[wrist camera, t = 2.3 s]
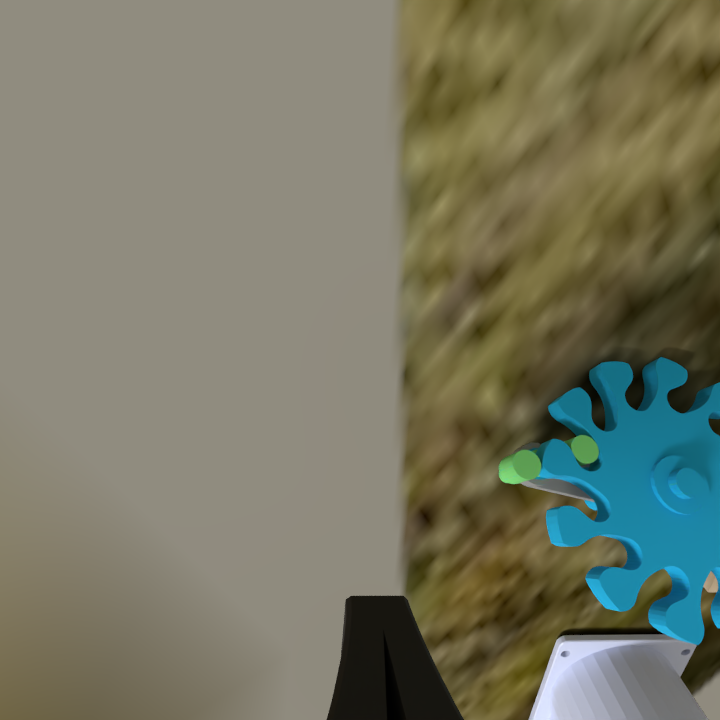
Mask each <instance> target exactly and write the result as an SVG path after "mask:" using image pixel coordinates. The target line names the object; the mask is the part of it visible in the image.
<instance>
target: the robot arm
mask: <svg viewBox="0 0 720 720" xmlns="http://www.w3.org/2000/svg"><path fill="white" fill-rule="evenodd" d="M696 646H697V645H695V644H691V643H687V642H684V641H680V640H677V639H674V638H672V637H669V636H667V635H665V634H634V635H564V636H561V637H559V638H558V639H557V641H556V643H555V646H554V649H553V652H552V655H551V657H550V660H549V663H548V666H547V669H546V672H545V675H544V677H543V680H542V683H541V686H540V689H539V692H538V695H537V697H536V700H535V703H534V706H533V709H532V712H531V715H530V717H529V720H708V718H707V717H706V715H705V714H704V712H703V711H702V709H701V708H700V706H699V705H698V703H697V702H696V700H695V699H694V697H693V696H692V694H691V693H690V691H689V690H688V688H687V687H686V685H685V684H684V682H683V681H682V679H681V678H680V676H681V675H682V673H683V671H684V669H685V667H686V665H687V663H688V661H689V659H690V657H691V656H692V654H693V652H694V650H695V648H696ZM327 720H464V719H463V717H462V716H461V714H460V712H459V710H458V708H457V706H456V705H455V703H454V701H453V699H452V697H451V695H450V693H449V691H448V689H447V687H446V685H445V683H444V682H443V680H442V678H441V676H440V674H439V672H438V670H437V668H436V666H435V664H434V662H433V659H432V657H431V655H430V653H429V651H428V649H427V647H426V644H425V642H424V640H423V638H422V635H421V633H420V631H419V628H418V626H417V624H416V621H415V619H414V616H413V614H412V611H411V608H410V606H409V603H408V600H407V599H406V598H405V597H404V596H350V597H349V598H347V599H346V604H345V615H344V627H343V639H342V650H341V661H340V666H339V670H338V676H337V680H336V684H335V689H334V694H333V698H332V702H331V706H330V710H329V713H328V717H327Z"/></svg>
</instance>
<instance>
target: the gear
mask: <svg viewBox="0 0 720 720" xmlns="http://www.w3.org/2000/svg"><path fill="white" fill-rule="evenodd" d="M642 376H643V380H644V387H645V390H644V397H643V401H642V403H641V405H640V407H639V408H638V410H635V409H633V408H632V407H630V406H629V404H628V403H627V401H626V399H625V392H626V389H627V388H628V386H629V385H630V384H631V382H632V380H633V372H632V369H631V367H630V366H629V364H628V363H624V362H618V361H612V362H603V363H601V364H599V365H597V366H596V367H594V368H593V369H591V370H590V373H589V378H590V382H591V384H592V385H593V387H594V388H595V389H596V390H597V392H598V394H599V395H600V397H601V400H602V402H603V405H604V409H605V430H604V431H602V430H600V429H599V428H597V427H596V425H595V424H594V423H593V420H592V416H591V411H592V405H591V400H590V397H589V395H588V394H587V393H586V392H585V391H584V390H583V389H582V388H580V387H578V388H574V389H572V390H570V391H568V392H567V393H565V394H563V395H562V396H560V397H558V398H557V399H556V400H554V401H553V402H552V403H551V404H550V405H549V406H548V410H549V412H550V414H551V416H552V417H553V418H554V419H555V420H556V421H558V422H560V423H562V424H564V425H565V426H566V427H568V428H569V429H570V430H571V431H572V432H573V433H574V434H575V435H576V436H577V437H574V438H572V439H569V440H567V441H565V442H563V441H561V440H558V439H551V440H549V441H546V442H544V443H542V444H540V443H528V444H526V445H524V446H522V447H520V448H518V449H516V450H515V451H514V453H513V454H512V455H509V456H507V457H505V458H504V459H502V461H501V462H500V464H499V477H500V479H501V480H502V481H503V482H505V483H510V484H517V483H521V484H523V485H525V486H527V487H531V488H536V489H540V490H544V491H549V492H553V493H557V494H561V495H566V496H570V497H574V498H579V499H583V500H585V503H586V504H587V506H588V507H589V508H591V509H593V510H598V512H597V517H596V519H595V520H594V521H592V520H591V519H589V518H588V517H587V516H586V515H585V514H584V513H582V512H581V511H580V510H579V509H577V508H575V507H573V506H561V507H555V508H551V509H549V510H547V514H546V522H547V528H548V533H549V536H550V540H551V543H552V544H554V545H556V546H579V545H582V544H583V543H584V542H586V541H587V540H588V539H590V538H592V537H595V536H599V535H601V536H606V537H611V538H614V539H617V540H619V541H620V542H621V543H622V544H623V545H624V547H625V548H626V551H627V562H626V564H625V566H624V567H622V568H616V567H603V566H598V567H594V568H592V569H591V570H590V571H589V572H588V573H587V575H586V581H587V583H588V586H589V587H590V589H591V591H592V592H593V594H594V595H595V596H596V598H597V599H598V600H599V601H600V602H601V604H602V605H603V606H604V607H605V608H606V609H611V610H616V611H620V612H622V611H627V610H629V609H630V608H632V607H633V605H634V604H635V602H636V598H637V594H638V592H639V590H640V587H641V585H642V584H643V583H644V581H645V580H646V579H647V578H648V577H649V576H650V575H651V574H653V573H655V572H656V571H658V570H661V569H663V568H664V569H665V570H666V571H667V572H668V573H669V575H670V577H671V579H672V590H671V592H670V594H669V595H668V596H666V597H664V598H662V599H659V600H657V601H655V602H654V603H653V604H652V605H651V607H650V609H649V623H650V624H651V625H652V626H653V627H654V628H656V629H657V630H658V631H660V632H661V633H663V634H665V635H667V636H669V637H672V638H674V639H677V640H680V641H684V642H687V643H691V644H695V645H699V644H700V643H701V641H702V639H703V637H704V624H703V620H702V616H701V608H700V603H701V593H702V588H703V586H704V583H705V581H706V579H707V577H708V575H709V573H710V571H712V572H713V574H714V575H715V577H716V579H717V582H718V591H717V593H716V596H715V598H714V600H713V602H712V605H711V615H712V619H713V621H714V623H715V625H716V626H717V628H720V436H718V435H717V434H715V433H714V432H713V431H712V429H711V428H710V426H709V422H708V419H709V418H711V419H720V382H719V383H716V384H714V385H711V386H709V387H706V388H704V389H701V390H700V391H699V392H698V393H697V395H696V399H695V401H694V403H693V405H692V407H691V408H690V409H689V410H688V411H687V412H685V413H679V412H677V411H675V410H674V409H672V408H671V406H670V405H669V403H668V400H667V394H668V392H669V391H670V390H672V389H674V388H677V387H679V386H681V385H683V384H684V383H685V382H686V380H687V377H688V373H687V370H686V369H685V368H683V367H682V366H681V365H679V364H677V363H675V362H673V361H671V360H669V359H666V358H663V357H660V358H658V359H656V360H654V361H652V362H651V363H649V364H647V365H646V366H645V367H644V368H643V371H642Z"/></svg>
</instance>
